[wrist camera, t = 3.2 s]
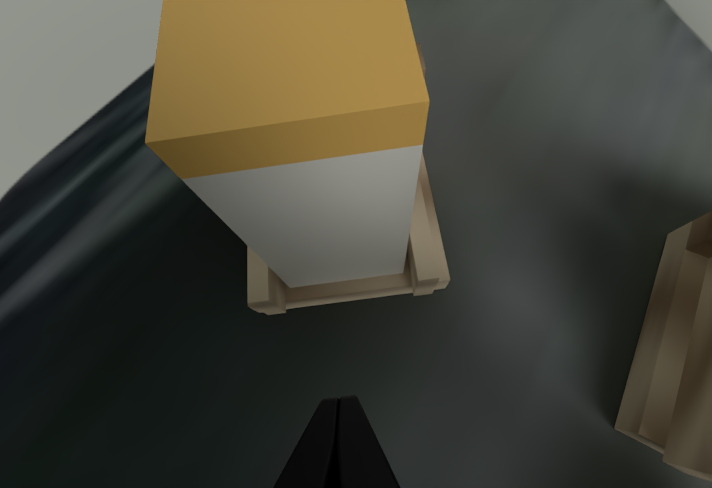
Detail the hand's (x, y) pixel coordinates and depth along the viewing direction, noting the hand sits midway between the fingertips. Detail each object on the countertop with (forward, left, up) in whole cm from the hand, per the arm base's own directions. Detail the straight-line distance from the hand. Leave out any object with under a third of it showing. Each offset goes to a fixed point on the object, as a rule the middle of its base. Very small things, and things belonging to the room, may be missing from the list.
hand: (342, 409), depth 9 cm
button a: (+6, +4, -6) cm, 9 cm away
